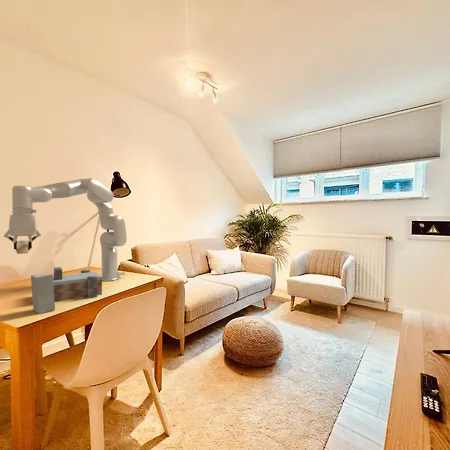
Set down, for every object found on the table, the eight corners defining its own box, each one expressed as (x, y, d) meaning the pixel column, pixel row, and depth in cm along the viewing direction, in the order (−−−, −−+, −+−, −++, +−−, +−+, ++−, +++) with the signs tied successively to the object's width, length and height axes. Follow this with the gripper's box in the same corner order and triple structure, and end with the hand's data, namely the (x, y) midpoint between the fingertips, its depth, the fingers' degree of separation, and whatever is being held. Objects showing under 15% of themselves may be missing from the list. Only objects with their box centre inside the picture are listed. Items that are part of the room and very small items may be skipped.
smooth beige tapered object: (28, 248, 134) (28, 240, 134) (28, 253, 115) (28, 244, 115) (18, 248, 132) (18, 240, 132) (16, 253, 113) (16, 244, 113)
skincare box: (55, 310, 113) (55, 274, 113) (35, 314, 108) (35, 276, 107) (49, 306, 119) (49, 271, 118) (30, 310, 113) (30, 273, 113)
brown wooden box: (94, 286, 153) (94, 268, 153) (103, 296, 135) (103, 275, 135) (40, 293, 137) (40, 274, 137) (42, 305, 119) (42, 282, 119)
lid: (95, 275, 150) (95, 263, 150) (101, 281, 138) (101, 267, 137) (40, 282, 135) (40, 267, 134) (41, 288, 122) (41, 272, 122)
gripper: (43, 212, 131) (43, 248, 132) (0, 211, 121) (0, 250, 122) (44, 212, 125) (44, 250, 126) (-2, 211, 115) (-1, 252, 116)
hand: (22, 250), depth 124 cm, fingers closed on smooth beige tapered object, 4 cm apart
